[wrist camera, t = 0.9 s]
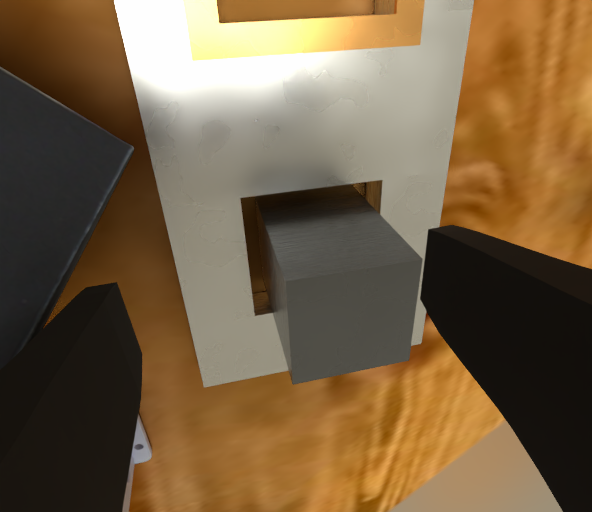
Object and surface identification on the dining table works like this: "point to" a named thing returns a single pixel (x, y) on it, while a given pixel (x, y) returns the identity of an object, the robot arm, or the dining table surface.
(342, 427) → the dining table surface
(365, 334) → the post
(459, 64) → the rail plate
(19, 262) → the small box
